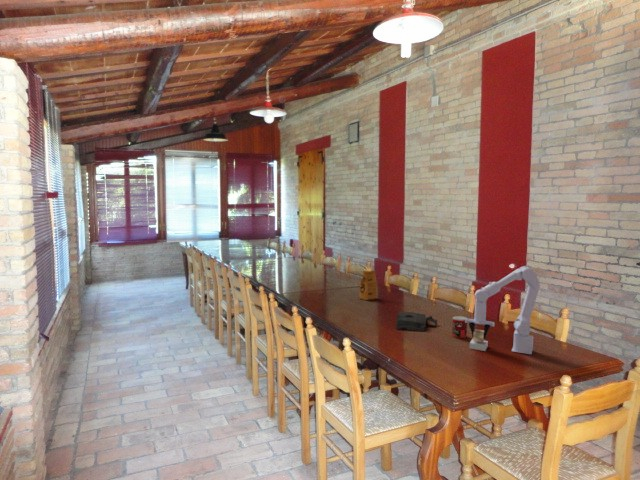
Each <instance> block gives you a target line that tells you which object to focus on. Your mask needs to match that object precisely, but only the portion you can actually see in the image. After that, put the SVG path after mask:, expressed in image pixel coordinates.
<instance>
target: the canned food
mask: <svg viewBox="0 0 640 480" xmlns="http://www.w3.org/2000/svg"><path fill="white" fill-rule="evenodd" d="M466 318H467V317H466V316H462V315H459V316H458V315H454V316H453V317H452V326H451V328H452V330H451V336H452V338H456V339H466V338H467V334H468V323H465V319H466Z"/></svg>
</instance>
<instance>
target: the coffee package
mask: <svg viewBox="0 0 640 480" xmlns="http://www.w3.org/2000/svg"><path fill="white" fill-rule="evenodd" d="M362 273H363V275H362V278H361V279H360V282H359V295H358V296H359V299H361V300H363V301H369V300H372V301H373V300H375V299H377V288H378V283H377V275H376V272H375V269H372V270H363V271H362Z"/></svg>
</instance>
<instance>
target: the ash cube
mask: <svg viewBox="0 0 640 480" xmlns="http://www.w3.org/2000/svg"><path fill="white" fill-rule="evenodd" d="M472 339H473V341H476V342H484V341H486V338H485V339H484V329H483V330H482V329H475V330H474V333H473V337H472Z"/></svg>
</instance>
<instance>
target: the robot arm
mask: <svg viewBox="0 0 640 480" xmlns="http://www.w3.org/2000/svg"><path fill="white" fill-rule="evenodd" d="M522 280H524V281H525V283H526V284H527V290H526V292H525V296H524V300H523V303H522V307H521V310H520V313H519V315H517V319H516V320H515V321H514V322H513V328H514V332H513V344H512V345H513V346H512V348H511V352H514V353H520V354H526V355H532V354H533V351H534V346H533V345H534V335H530V333H531V317H532V314H533V313H532V312H533V310H534V306H535V303H536V301H537V297H538V294H539V290H540V286H541V284H540V280H539V278H538V275H537V273H536V272H535V271H534V269H532V268H531V267H528V265H522V266H520V267H519V268H516V269H515V270H514V271H511V272H510V273H509V274H508V275H506V276H504V277H503V278H501V279H499V280H498V281H489V282H488V284H487V285H486V286H484V287H483V286H482V287H480V289H476V291H475V293H474V294H473V296H474V297H475V301H474V317H473V318H468V317H466V319H465V323H467V324H468V326H469V328H470V331H471V336H472V338H473V333H474V330H475V328H476V325H481V326H482V325H483V331H484V339H485V340H486V338H487V337H486V336H487V335H488V331H489V329H490V327H493V328H494V327H495V322H494V321H491V320H490V321H489V320H486V319H487V301H488V299H489V298H490V297H492V296H494V295H496V294H497V293H499V292H501V290H502V289H501V288H503V287H505V286H507V285H508V284H510V283H511V282H514V281H522Z"/></svg>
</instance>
